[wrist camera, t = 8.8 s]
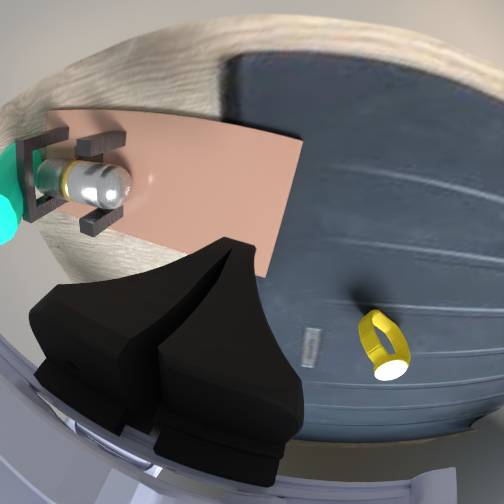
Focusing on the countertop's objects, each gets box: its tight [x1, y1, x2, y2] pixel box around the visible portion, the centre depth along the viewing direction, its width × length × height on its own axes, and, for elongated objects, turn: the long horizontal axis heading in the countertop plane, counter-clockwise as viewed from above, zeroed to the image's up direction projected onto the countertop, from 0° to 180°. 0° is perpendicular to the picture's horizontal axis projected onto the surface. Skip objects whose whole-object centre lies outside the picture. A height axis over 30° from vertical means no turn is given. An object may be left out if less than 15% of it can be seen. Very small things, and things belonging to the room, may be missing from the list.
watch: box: [358, 310, 411, 380], centre depth 20 cm, size 6×3×6 cm, turn 56°
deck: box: [46, 109, 303, 277], centre depth 20 cm, size 25×11×1 cm, turn 78°
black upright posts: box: [15, 127, 127, 237], centre depth 18 cm, size 9×8×6 cm
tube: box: [34, 158, 132, 210], centre depth 19 cm, size 12×4×4 cm, turn 81°
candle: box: [0, 143, 42, 245], centre depth 17 cm, size 6×6×12 cm
